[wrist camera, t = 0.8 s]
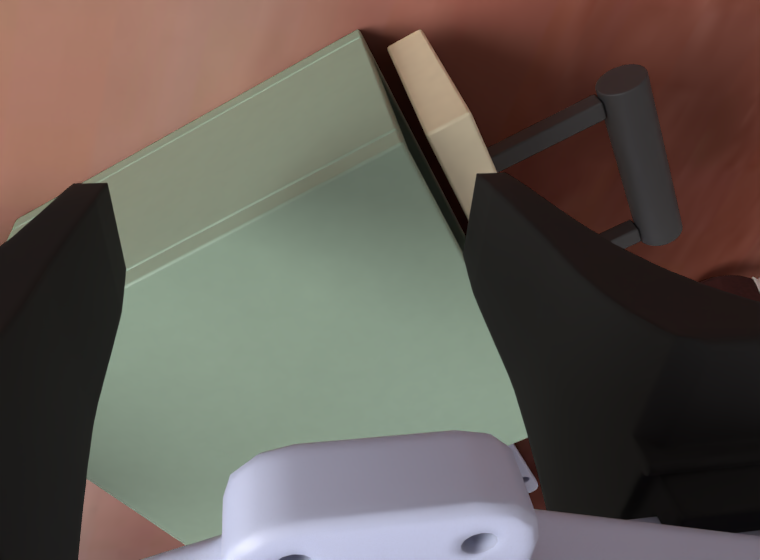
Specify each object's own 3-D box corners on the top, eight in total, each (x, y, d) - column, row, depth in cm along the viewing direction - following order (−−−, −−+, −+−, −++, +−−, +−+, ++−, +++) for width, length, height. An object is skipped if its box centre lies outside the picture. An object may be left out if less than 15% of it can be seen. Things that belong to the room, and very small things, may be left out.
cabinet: (358, 27, 21) (402, 141, 15) (491, 285, 29) (554, 427, 23) (15, 219, 23) (-60, 381, 18) (223, 411, 31) (219, 568, 25)
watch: (825, 291, 32) (880, 344, 30) (751, 357, 35) (795, 412, 32) (719, 240, 29) (769, 294, 26) (645, 317, 32) (684, 374, 29)
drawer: (572, -57, 20) (669, 8, 15) (645, 217, 27) (728, 318, 22) (87, 210, 23) (48, 330, 18) (267, 394, 30) (272, 514, 25)
